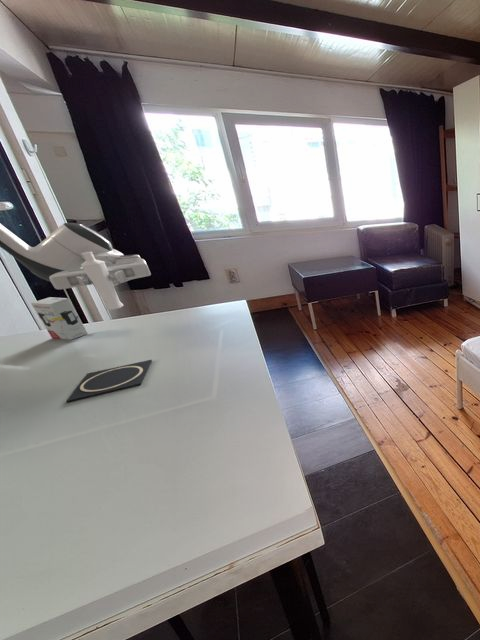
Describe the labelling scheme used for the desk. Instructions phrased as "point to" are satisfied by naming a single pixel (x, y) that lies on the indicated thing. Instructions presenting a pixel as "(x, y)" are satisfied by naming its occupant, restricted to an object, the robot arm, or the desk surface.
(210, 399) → the desk surface
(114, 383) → the circle mat
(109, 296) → the perfume bottle
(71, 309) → the ink box
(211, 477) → the desk surface
